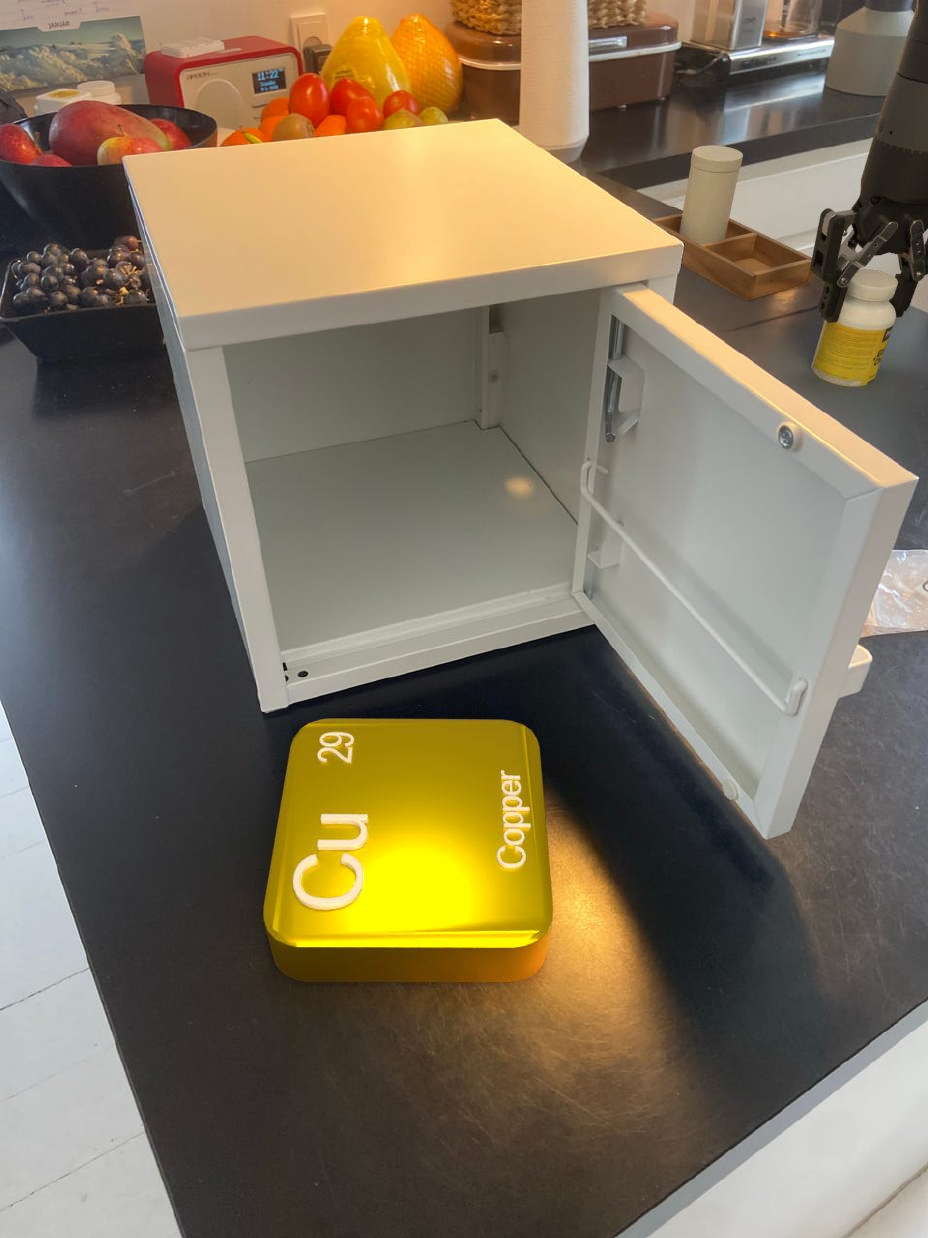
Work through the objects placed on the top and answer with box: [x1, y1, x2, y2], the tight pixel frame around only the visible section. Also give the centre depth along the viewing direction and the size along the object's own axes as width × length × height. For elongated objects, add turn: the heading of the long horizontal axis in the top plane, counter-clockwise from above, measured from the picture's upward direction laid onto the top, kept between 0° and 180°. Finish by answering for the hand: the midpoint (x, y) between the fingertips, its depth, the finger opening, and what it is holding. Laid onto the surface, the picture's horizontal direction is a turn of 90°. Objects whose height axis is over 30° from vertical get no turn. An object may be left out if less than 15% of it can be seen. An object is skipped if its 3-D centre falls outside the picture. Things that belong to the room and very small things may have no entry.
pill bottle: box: [810, 268, 898, 387], centre depth 93 cm, size 6×6×12 cm
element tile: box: [262, 718, 554, 983], centre depth 52 cm, size 15×15×5 cm
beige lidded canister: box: [679, 145, 744, 245], centre depth 118 cm, size 6×6×12 cm
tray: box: [650, 212, 814, 301], centre depth 118 cm, size 11×20×4 cm, turn 29°
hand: (860, 316), depth 91 cm, fingers closed on pill bottle, 6 cm apart
